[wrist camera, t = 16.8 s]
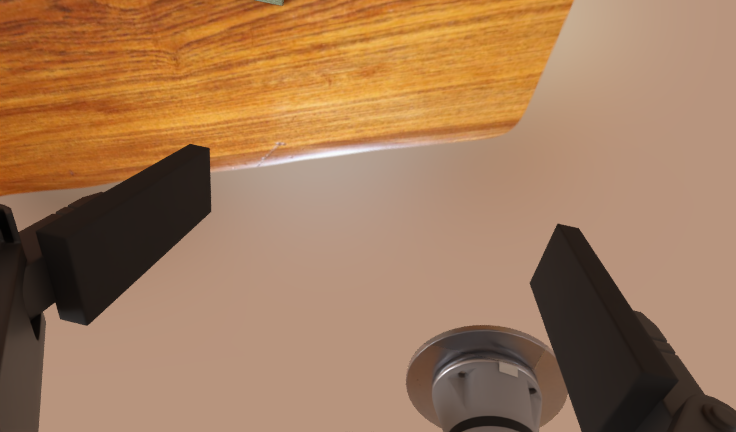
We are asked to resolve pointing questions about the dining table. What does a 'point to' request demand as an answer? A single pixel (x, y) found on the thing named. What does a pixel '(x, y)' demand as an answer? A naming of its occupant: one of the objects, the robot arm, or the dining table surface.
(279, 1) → the mat
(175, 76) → the dining table surface
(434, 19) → the dining table surface
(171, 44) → the dining table surface
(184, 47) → the dining table surface
